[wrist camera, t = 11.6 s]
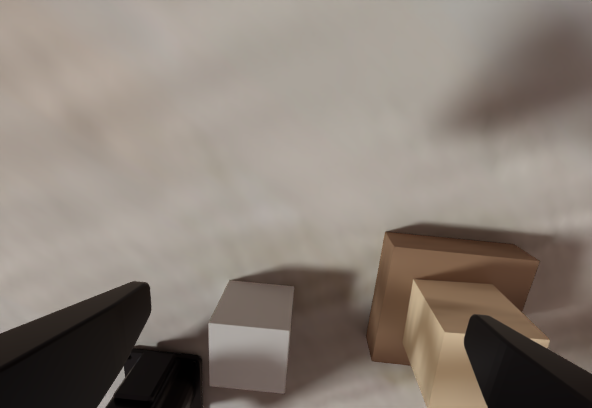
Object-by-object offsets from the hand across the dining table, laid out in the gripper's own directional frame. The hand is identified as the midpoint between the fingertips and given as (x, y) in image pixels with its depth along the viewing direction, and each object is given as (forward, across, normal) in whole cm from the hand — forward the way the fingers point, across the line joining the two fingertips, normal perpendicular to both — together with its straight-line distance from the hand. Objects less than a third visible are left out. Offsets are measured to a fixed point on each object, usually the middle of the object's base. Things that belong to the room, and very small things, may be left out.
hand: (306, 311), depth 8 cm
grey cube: (+13, +3, +10) cm, 17 cm away
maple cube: (+10, -10, +7) cm, 16 cm away
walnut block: (+14, -10, +7) cm, 18 cm away
